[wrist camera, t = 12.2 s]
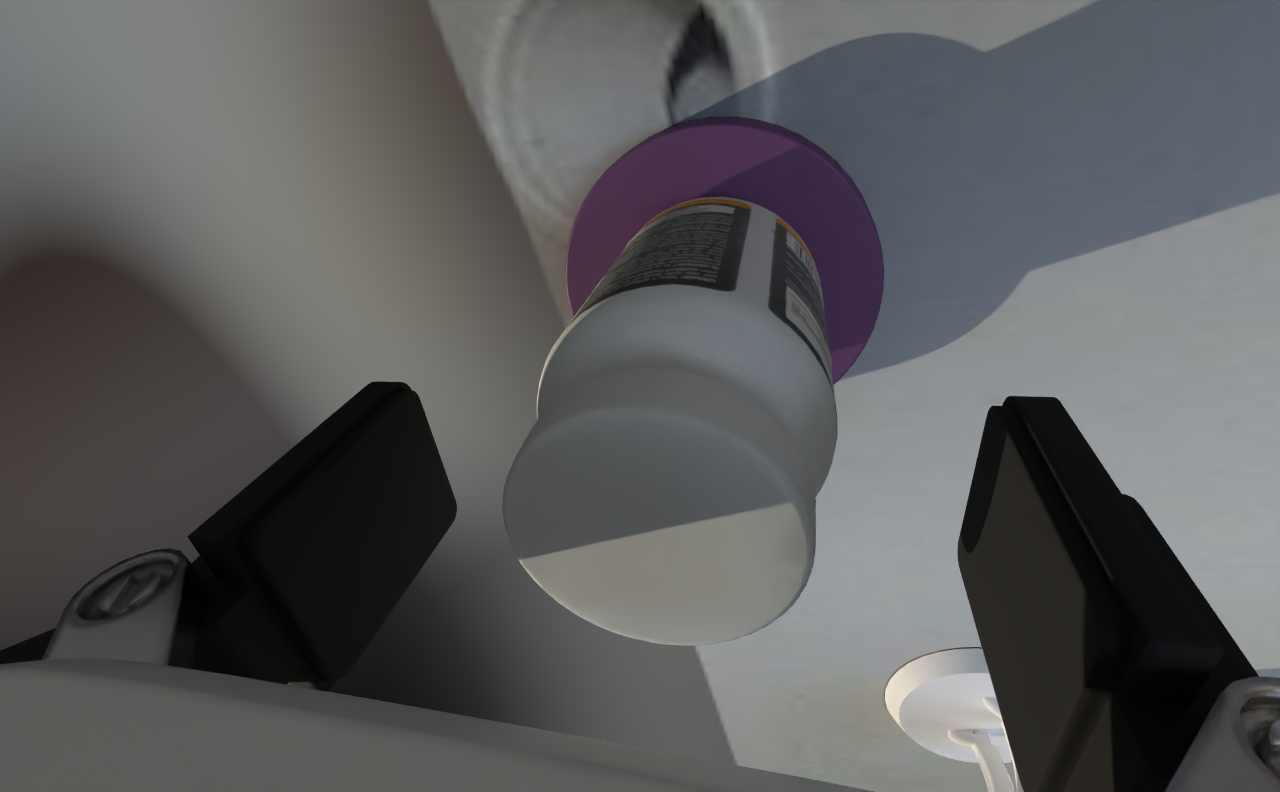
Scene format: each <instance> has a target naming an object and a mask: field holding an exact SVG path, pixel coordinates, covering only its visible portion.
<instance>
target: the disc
mask: <svg viewBox="0 0 1280 792" xmlns="http://www.w3.org/2000/svg"><path fill="white" fill-rule="evenodd" d="M703 197H729V198H737V199H741V200H744V201H749V202H752V203H754V204H757V205H759V206H762V207H764V208H766V209H768V210H769V211H771V212H773V213H775V214H776V215H777V216H779V217H780V218H781V219H782V220H783V221H785V222H786V223H787V224H788V225H789V226H790V227H791V228H792V229H793V230H794V231H795V232H796V233H797V234H798V235H799V236H800V237H801V239H802V240H803V242H804V243H805V245H806V246H807V248H808V250H809V252H810V254H811V256H812V258H813V260H814V263H815V266H816V268H817V272H818V275H819V278H820V283H821V288H822V294H823V303H824V312H825V322H826V328H827V336H828V344H829V351H830V356H831V363H832V377H833V385H834V384H835V383H836V382H837V381H838V380H839V379H840V378H841V377H842V376H843V375H844V374H845V373H846V372H847V371H848V369H849V368H850V367H851V366H852V365H853V364H854V362H855V361H856V359H857V358H858V356H859V355H860V353H861V352H862V350H863V349H864V347H865V345H866V343H867V341H868V339H869V337H870V335H871V333H872V331H873V329H874V326H875V323H876V320H877V317H878V314H879V311H880V305H881V300H882V294H883V281H884V266H883V257H882V249H881V244H880V241H879V237H878V233H877V230H876V226H875V224H874V221H873V219H872V216H871V214H870V212H869V210H868V207H867V205H866V203H865V201H864V198H863V196H862V195H861V193H860V191H859V190H858V188H857V187H856V185H855V184H854V182H853V180H852V179H851V178H850V176H849V175H848V174H847V173H846V172H845V171H844V169H843V168H842V167H841V166H840V165H839V164H838V163H837V161H835V160H834V159H833V158H832V157H831V156H830V155H828V154H827V153H826V152H825V151H824V150H823V149H821V148H820V147H819V146H817V145H816V144H814V143H812V142H811V141H809V140H808V139H806V138H804V137H803V136H801V135H799V134H797V133H795V132H793V131H790V130H788V129H786V128H783V127H781V126H778V125H775V124H771V123H767V122H764V121H760V120H755V119H747V118H739V117H712V118H706V119H700V120H694V121H689V122H686V123H682V124H679V125H676V126H673V127H670V128H667V129H665V130H663V131H661V132H659V133H657V134H655V135H653V136H651V137H649V138H647V139H646V140H644V141H643V142H641V143H640V144H638V145H637V146H635V147H634V148H632V149H631V150H630V151H628V152H627V153H626V154H624V155H623V156H622V157H621V158H620V159H618V160H617V161H616V162H615V163H614V164H613V165H612V166H611V167H609V168H608V169H607V170H606V171H605V173H604V174H603V175H602V176H601V177H600V179H599V180H598V181H597V182H596V183H595V184H594V186H593V187H592V189H591V190H590V192H589V194H588V195H587V197H586V198H585V200H584V201H583V203H582V205H581V207H580V210H579V212H578V214H577V216H576V219H575V221H574V224H573V227H572V231H571V234H570V237H569V241H568V248H567V254H566V273H565V279H566V288H567V297H568V301H569V305H570V309H571V313H572V317H574V316H575V315H576V313H577V312H578V311H579V309H580V308H581V307H582V305H583V304H584V303H585V301H586V300H587V299H588V297H589V296H590V294H591V293H592V292H593V290H594V289H595V287H596V286H597V284H598V283H599V282H600V281H601V279H602V278H603V277H604V276H605V275H606V273H607V272H608V270H609V269H610V268H611V267H612V265H613V264H614V263H615V261H616V260H617V259H618V257H619V256H620V254H621V253H622V252H623V250H624V249H625V247H626V245H627V244H628V242H629V241H630V240H631V239H632V238H633V237H634V236H635V235H636V234H637V233H638V232H639V231H640V230H641V229H642V228H643V227H644V226H645V225H646V224H647V223H648V222H649V221H650V220H651V219H653V218H654V217H656V216H657V215H658V214H660V213H661V212H663V211H665V210H666V209H668V208H671V207H673V206H675V205H677V204H679V203H682V202H685V201H689V200H693V199H697V198H703Z"/></svg>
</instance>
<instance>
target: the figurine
mask: <svg viewBox="0 0 1280 792" xmlns="http://www.w3.org/2000/svg"><path fill="white" fill-rule="evenodd" d="M885 702H886V706H887V709H888V711H889V712H890V714H891V716H892V717H893V719H894V720H895V721H896V722H897V723H898V724H899V726H900V727H901V728H902V729H903V730H904V731H905V732H906V733H907V734H908V735H909V736H910V737H911V738H912V739H913V740H914V741H915V742H916V743H918V744H919V745H921V746H922V747H924V748H926V749H928V750H930V751H932V752H934V753H936V754H939V755H942V756H945V757H948V758H951V759H956V760H960V761H965V762H973V763H979V765H980V767H981V769H982V772H983V774H984V777H985V780H986V783H987V787H988V792H1015V789H1014V786H1013V783H1012V781H1011V778H1010V776H1009V774H1008V771H1007V769H1006V767H1005V765H1004V763H1010V762H1013V766H1014V771H1015V778H1016V792H1024V791H1023V789H1022V786H1021V783H1020V780H1019V776H1018V773H1017V769H1016V766H1015V762H1014V759H1013V755H1012V752H1011V748H1010V745H1009V741H1008V737H1007V734H1006V730H1005V727H1004V723H1003V720H1002V716H1001V713H1000V709H999V706H998V702H997V699H996V695H995V692H994V688H993V684H992V681H991V677H990V674H989V670H988V667H987V663H986V660H985V656H984V653H983V649H978V648H972V649H954V650H947V651H941V652H936V653H933V654H929V655H926V656H923V657H920V658H918V659H916V660H914V661H912V662H910V663H908V664H906V665H905V666H904V667H902V668H901V669H900V670H898V671H897V672H896V673H895V674H894V676H893V677H892V678H891V679H890V681H889V683H888V685H887V687H886V691H885Z"/></svg>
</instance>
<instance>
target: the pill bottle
mask: <svg viewBox="0 0 1280 792" xmlns="http://www.w3.org/2000/svg"><path fill="white" fill-rule="evenodd" d="M836 441H837V412H836V404H835V397H834V388H833V377H832V363H831V356H830V351H829V344H828V336H827V328H826V322H825V312H824V303H823V294H822V288H821V283H820V278H819V275H818V272H817V268H816V266H815V263H814V260H813V258H812V256H811V254H810V252H809V250H808V248H807V246H806V245H805V243H804V242H803V240H802V239H801V237H800V236H799V235H798V234H797V233H796V232H795V231H794V230H793V229H792V228H791V227H790V226H789V225H788V224H787V223H786V222H785V221H783V220H782V219H781V218H780V217H779V216H777V215H776V214H775V213H773V212H771V211H769V210H768V209H766V208H764V207H762V206H759V205H757V204H754V203H752V202H749V201H744V200H741V199H737V198H729V197H703V198H697V199H693V200H689V201H685V202H682V203H679V204H677V205H675V206H673V207H671V208H668V209H666V210H665V211H663V212H661V213H660V214H658V215H657V216H656V217H654V218H653V219H651V220H650V221H649V222H648V223H647V224H646V225H645V226H644V227H643V228H642V229H641V230H640V231H639V232H638V233H637V234H636V235H635V236H634V237H633V238H632V239H631V240H630V241H629V242H628V244H627V245H626V247H625V249H624V250H623V252H622V253H621V254H620V256H619V257H618V259H617V260H616V261H615V263H614V264H613V265H612V267H611V268H610V269H609V270H608V272H607V273H606V275H605V276H604V277H603V278H602V279H601V281H600V282H599V283H598V284H597V286H596V287H595V289H594V290H593V292H592V293H591V294H590V296H589V297H588V299H587V300H586V301H585V303H584V304H583V305H582V307H581V308H580V309H579V311H578V312H577V313H576V315H575V316H574V317H573V319H572V320H571V321H570V323H569V324H568V325H567V327H566V328H565V330H564V331H563V333H562V334H561V335H560V337H559V338H558V339H557V341H556V342H555V344H554V345H553V347H552V349H551V351H550V353H549V355H548V357H547V359H546V362H545V364H544V368H543V371H542V374H541V378H540V382H539V388H538V395H537V421H536V423H535V425H534V426H533V428H532V430H531V431H530V433H529V435H528V437H527V438H526V440H525V442H524V444H523V445H522V447H521V449H520V451H519V453H518V454H517V456H516V458H515V460H514V462H513V464H512V467H511V469H510V471H509V474H508V476H507V479H506V484H505V487H504V494H503V515H504V523H505V528H506V531H507V534H508V537H509V540H510V542H511V545H512V547H513V549H514V552H515V554H516V556H517V558H518V559H519V561H520V563H521V564H522V565H523V567H524V568H525V570H526V571H527V572H528V573H529V575H530V576H531V577H532V578H533V579H534V580H535V581H536V583H537V584H538V585H539V586H540V587H541V588H542V589H544V591H546V592H547V593H548V594H549V595H550V596H551V597H552V598H554V599H555V600H556V601H557V602H558V603H560V604H561V605H563V606H564V607H566V608H567V609H569V610H570V611H571V612H573V613H574V614H576V615H578V616H580V617H582V618H583V619H585V620H587V621H589V622H591V623H593V624H595V625H597V626H599V627H602V628H604V629H606V630H609V631H612V632H614V633H617V634H620V635H623V636H626V637H630V638H634V639H639V640H645V641H648V642H653V643H659V644H669V645H708V644H714V643H720V642H726V641H730V640H734V639H738V638H740V637H743V636H745V635H749V634H752V633H754V632H756V631H758V630H760V629H762V628H764V627H766V626H767V625H769V624H770V623H772V622H773V621H775V620H776V619H777V618H779V617H780V616H782V615H783V614H784V613H785V612H786V611H787V610H788V609H789V608H790V607H791V606H792V605H793V604H794V603H795V602H796V600H797V599H798V597H799V596H800V594H801V592H802V591H803V589H804V588H805V586H806V584H807V582H808V579H809V577H810V574H811V571H812V568H813V564H814V556H815V546H816V514H815V507H816V500H815V497H816V496H817V494H818V492H819V491H820V489H821V488H822V486H823V484H824V482H825V480H826V478H827V475H828V473H829V470H830V467H831V464H832V460H833V456H834V452H835V447H836Z"/></svg>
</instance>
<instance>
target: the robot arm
mask: <svg viewBox="0 0 1280 792" xmlns="http://www.w3.org/2000/svg"><path fill="white" fill-rule="evenodd" d="M456 512H457V505H456V500H455V497H454V495H453V492H452V489H451V486H450V483H449V480H448V477H447V475H446V472H445V469H444V466H443V463H442V460H441V458H440V455H439V452H438V449H437V446H436V443H435V441H434V438H433V435H432V432H431V429H430V427H429V424H428V421H427V418H426V415H425V412H424V409H423V407H422V404H421V401H420V398H419V396H418V394H417V393H416V392H415V391H412V390H411V388H410V387H409V386H408V385H407V384H405V383H403V382H371V383H370V384H368V385H367V386H365V387H364V388H363V389H362V390H361V391H360V392H358V393H357V394H356V395H355V396H354V397H353V398H351V399H350V400H349V401H348V402H347V403H345V404H344V405H343V406H342V407H341V408H339V409H338V410H337V411H336V412H335V413H333V414H332V415H331V416H330V417H329V418H328V419H326V420H325V421H324V422H323V423H322V424H320V425H319V426H318V427H317V428H316V429H314V430H313V431H312V432H311V433H310V434H309V435H307V436H306V437H305V438H304V439H303V440H301V441H300V442H299V443H298V444H297V445H295V446H294V447H293V448H292V449H291V450H290V451H288V452H287V453H286V454H285V455H284V456H283V457H281V458H280V459H279V460H278V461H276V462H275V463H274V464H273V465H272V466H271V467H269V468H268V469H267V470H266V471H265V472H263V473H262V474H261V475H260V476H259V477H257V478H256V479H255V480H254V481H253V482H252V483H250V484H249V485H248V486H247V487H246V488H244V489H243V490H242V491H241V492H240V493H239V494H237V495H236V496H235V497H234V498H233V499H231V500H230V501H229V502H228V503H227V504H226V505H224V506H223V507H222V508H221V509H220V510H218V511H217V512H216V513H215V514H214V515H212V516H211V517H210V518H209V519H208V520H207V521H205V522H204V523H203V524H202V525H201V526H199V527H198V528H197V529H196V530H195V531H194V532H192V533H191V534H190V535H189V536H188V538H189V540H190V541H191V543H192V544H193V545H194V547H195V548H196V550H197V551H198V553H199V554H200V556H199V557H198V558H197V559H196V560H195V561H194V562H193V563H190V561H189V560H188V559H187V557H186V556H185V555H184V554H183V553H182V552H181V551H179V550H175V549H170V548H168V549H156V550H152V551H148V552H145V553H141V554H137V555H135V556H133V557H130V558H128V559H126V560H123V561H121V562H119V563H117V564H115V565H114V566H112V567H110V568H108V569H106V570H105V571H103V572H102V573H100V574H99V575H97V576H96V577H94V578H93V579H92V580H90V581H89V582H88V583H87V584H85V585H84V586H83V587H82V588H81V589H80V590H79V591H78V592H77V593H76V594H75V595H74V596H73V597H72V599H71V600H70V602H69V603H68V605H67V606H66V608H65V609H64V611H63V614H62V616H61V618H60V620H59V623H58V625H57V627H56V628H55V629H52V630H50V631H47V632H45V633H42V634H40V635H38V636H35V637H33V638H30V639H28V640H25V641H23V642H21V643H18V644H16V645H13V646H11V647H8V648H6V649H3V650H1V651H0V792H873V791H868V790H863V789H858V788H853V787H848V786H843V785H838V784H834V783H829V782H823V781H818V780H813V779H807V778H802V777H796V776H791V775H785V774H780V773H775V772H769V771H764V770H758V769H753V768H748V767H742V766H737V765H731V764H726V763H721V762H715V761H710V760H704V759H699V758H693V757H688V756H683V755H677V754H672V753H666V752H661V751H656V750H650V749H645V748H639V747H633V746H629V745H623V744H618V743H612V742H607V741H601V740H595V739H590V738H585V737H579V736H574V735H568V734H562V733H557V732H551V731H546V730H540V729H535V728H529V727H523V726H518V725H512V724H507V723H501V722H496V721H490V720H485V719H479V718H473V717H468V716H462V715H457V714H451V713H445V712H439V711H434V710H429V709H423V708H417V707H412V706H406V705H400V704H395V703H389V702H384V701H378V700H371V699H366V698H360V697H354V696H349V695H343V694H337V693H332V692H330V690H331V689H332V687H333V686H334V684H335V683H336V682H337V680H339V679H341V678H343V677H344V676H346V675H347V674H348V673H349V671H350V670H351V669H352V667H353V666H354V664H355V663H356V662H357V660H358V659H359V657H360V656H361V654H362V653H363V651H364V650H365V649H366V647H367V646H368V644H369V643H370V641H371V640H372V638H373V637H374V635H375V634H376V633H377V631H378V630H379V628H380V627H381V626H382V624H383V623H384V621H385V620H386V618H387V617H388V615H389V614H390V612H391V611H392V610H393V608H394V607H395V605H396V604H397V602H398V601H399V600H400V598H401V597H402V595H403V594H404V592H405V591H406V589H407V588H408V586H409V585H410V583H411V582H412V581H413V579H414V578H415V577H416V575H417V574H418V572H419V571H420V569H421V568H422V566H423V565H424V564H425V562H426V561H427V559H428V558H429V556H430V555H431V553H432V552H433V551H434V549H435V548H436V546H437V545H438V543H439V542H440V540H441V539H442V538H443V536H444V535H445V533H446V532H447V530H448V529H449V527H450V526H451V525H452V523H453V521H454V520H455V517H456ZM958 563H959V568H960V571H961V575H962V579H963V582H964V586H965V589H966V593H967V596H968V600H969V603H970V607H971V610H972V614H973V617H974V621H975V624H976V628H977V631H978V635H979V639H980V642H981V646H982V649H983V653H984V656H985V660H986V663H987V667H988V670H989V674H990V677H991V681H992V684H993V688H994V692H995V695H996V699H997V702H998V706H999V709H1000V713H1001V716H1002V720H1003V723H1004V727H1005V730H1006V734H1007V737H1008V741H1009V745H1010V748H1011V752H1012V755H1013V759H1014V762H1015V766H1016V769H1017V773H1018V776H1019V780H1020V783H1021V786H1022V789H1023V791H1024V792H1280V678H1273V677H1259V676H1258V674H1257V673H1256V671H1255V670H1254V668H1253V667H1252V666H1251V664H1250V663H1249V661H1248V660H1247V658H1246V657H1245V655H1244V654H1243V653H1242V651H1241V650H1240V648H1239V647H1238V645H1237V644H1236V642H1235V641H1234V640H1233V638H1232V637H1231V635H1230V634H1229V632H1228V631H1227V629H1226V628H1225V627H1224V625H1223V624H1222V622H1221V621H1220V619H1219V618H1218V616H1217V615H1216V613H1215V612H1214V611H1213V609H1212V608H1211V606H1210V605H1209V603H1208V602H1207V600H1206V599H1205V598H1204V596H1203V595H1202V593H1201V592H1200V590H1199V589H1198V587H1197V586H1196V585H1195V583H1194V582H1193V580H1192V579H1191V577H1190V576H1189V574H1188V573H1187V572H1186V570H1185V569H1184V567H1183V566H1182V564H1181V563H1180V561H1179V560H1178V558H1177V557H1176V556H1175V554H1174V553H1173V551H1172V550H1171V548H1170V547H1169V545H1168V544H1167V543H1166V541H1165V540H1164V538H1163V537H1162V535H1161V534H1160V532H1159V531H1158V530H1157V528H1156V527H1155V525H1154V524H1153V522H1152V521H1151V519H1150V518H1149V517H1148V515H1147V514H1146V512H1145V511H1144V509H1143V508H1142V506H1141V505H1140V504H1139V503H1138V502H1137V501H1136V500H1135V499H1134V498H1132V497H1130V496H1128V495H1126V494H1121V492H1120V491H1119V489H1118V488H1117V486H1116V485H1115V483H1114V482H1113V480H1112V479H1111V477H1110V476H1109V474H1108V473H1107V471H1106V470H1105V468H1104V467H1103V465H1102V464H1101V462H1100V461H1099V459H1098V458H1097V456H1096V455H1095V453H1094V452H1093V450H1092V449H1091V447H1090V446H1089V444H1088V443H1087V441H1086V440H1085V438H1084V437H1083V435H1082V434H1081V432H1080V431H1079V429H1078V428H1077V426H1076V425H1075V423H1074V422H1073V420H1072V419H1071V417H1070V416H1069V414H1068V413H1067V411H1066V410H1065V408H1064V407H1063V405H1062V404H1061V402H1060V401H1059V400H1058V399H1057V398H1054V397H1025V396H1009V397H1007V398H1006V399H1005V401H1004V403H1003V406H992V407H990V409H989V411H988V414H987V418H986V422H985V427H984V431H983V435H982V440H981V444H980V449H979V453H978V457H977V462H976V466H975V471H974V475H973V479H972V484H971V488H970V493H969V497H968V501H967V506H966V510H965V515H964V519H963V524H962V528H961V532H960V537H959V542H958ZM287 684H289V685H287Z"/></svg>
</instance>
